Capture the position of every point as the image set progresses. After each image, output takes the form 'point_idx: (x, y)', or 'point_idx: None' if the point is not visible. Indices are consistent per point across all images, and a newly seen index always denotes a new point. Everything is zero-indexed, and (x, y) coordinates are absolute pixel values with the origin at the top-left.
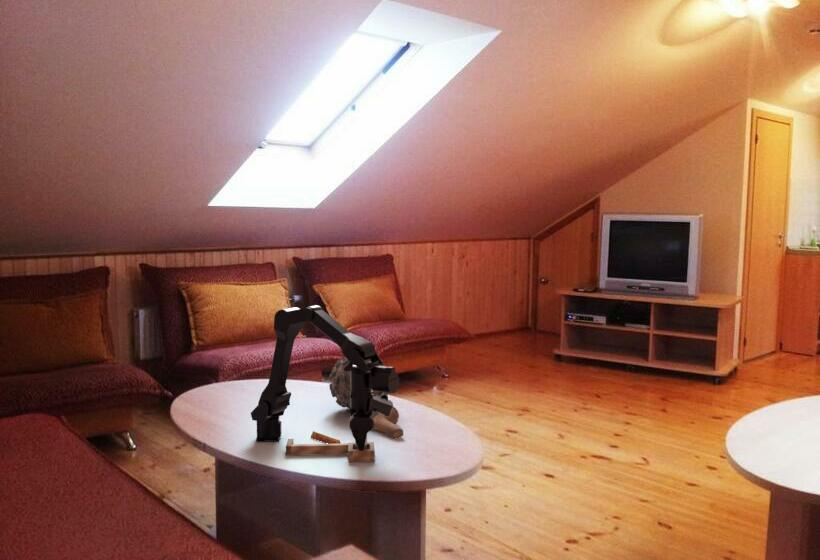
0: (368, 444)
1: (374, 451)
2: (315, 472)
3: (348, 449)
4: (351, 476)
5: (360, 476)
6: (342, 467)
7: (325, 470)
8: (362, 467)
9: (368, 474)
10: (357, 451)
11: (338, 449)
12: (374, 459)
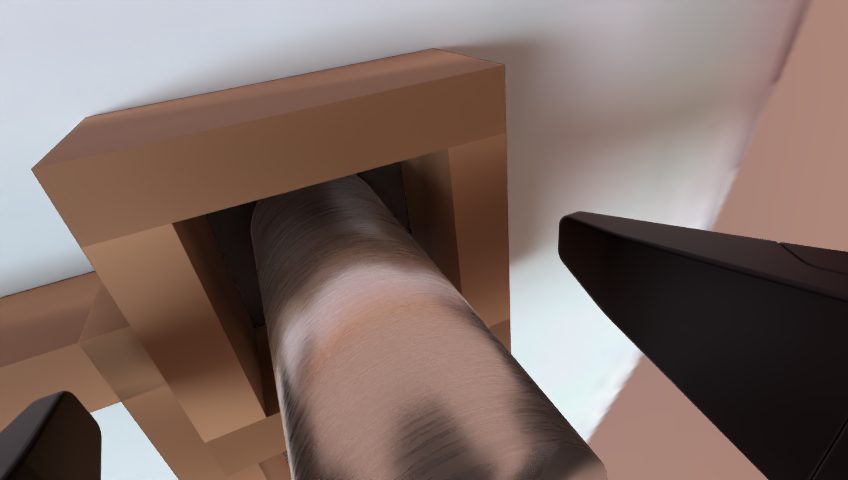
0: (179, 235)
1: (499, 66)
2: (605, 383)
3: None
4: (704, 178)
5: (721, 116)
6: (554, 287)
7: (587, 354)
8: (570, 144)
9: (708, 59)
10: (504, 274)
11: (280, 470)
12: (446, 53)
